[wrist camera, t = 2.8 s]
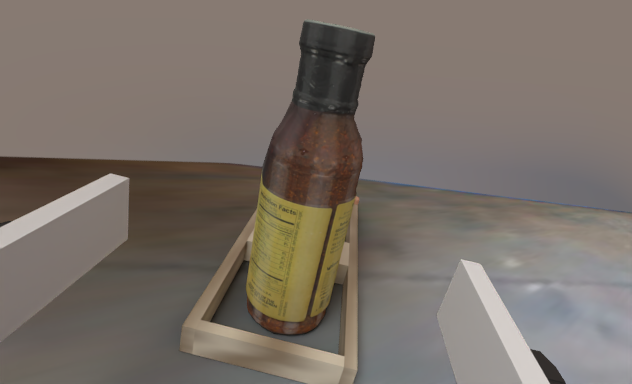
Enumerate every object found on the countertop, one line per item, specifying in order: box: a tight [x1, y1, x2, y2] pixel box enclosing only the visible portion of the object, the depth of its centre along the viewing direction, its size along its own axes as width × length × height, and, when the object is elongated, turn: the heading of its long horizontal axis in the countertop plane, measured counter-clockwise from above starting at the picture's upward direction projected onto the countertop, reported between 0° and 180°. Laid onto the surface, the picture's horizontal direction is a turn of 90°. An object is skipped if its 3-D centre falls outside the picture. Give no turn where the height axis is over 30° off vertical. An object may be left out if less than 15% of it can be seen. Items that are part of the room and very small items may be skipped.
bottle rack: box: [180, 197, 359, 384], centre depth 34 cm, size 11×26×3 cm, turn 174°
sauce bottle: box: [246, 20, 375, 334], centre depth 24 cm, size 6×6×20 cm
